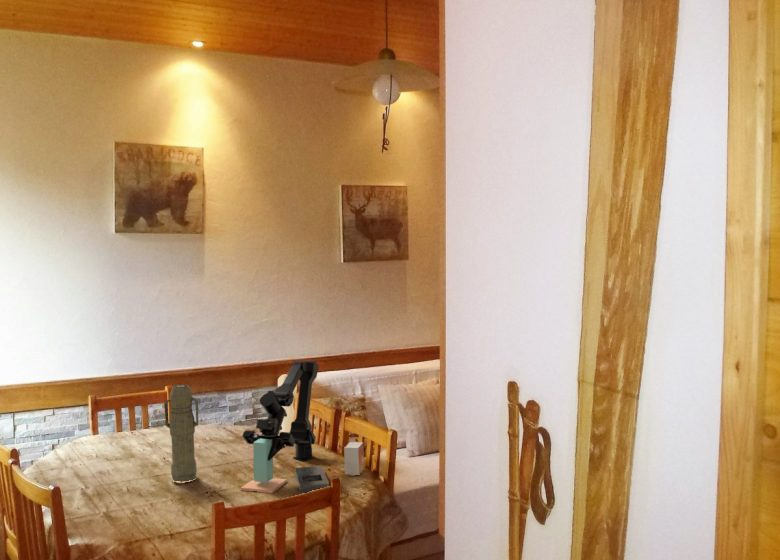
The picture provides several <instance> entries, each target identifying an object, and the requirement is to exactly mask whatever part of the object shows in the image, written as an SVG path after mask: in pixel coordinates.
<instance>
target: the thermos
mask: <svg viewBox="0 0 780 560" xmlns="http://www.w3.org/2000/svg"><path fill="white" fill-rule="evenodd" d="M169 395H170V397H169V398H168V399H167V400H166V401H165V402H164V405H163V407H164V418H165V427H167V428H168V429H169V435H170V437H171V457H172V463H171V466H170V467H171V468H170V472H171V480H172V479H173V480H174V481H181V482H182V481H189V480H193V479H195V478H196V479H197V471H198V470H197V460H196V459H195V440H194V439H195V431H196V430H195V429H196V427H197V426H199V404H198V403H199V400H198V399H197V398H196V397H193V394H192V390H191V388H190V386H189V385H188V384H177V385H174V386H172V388H171V391H170V394H169ZM193 401H194V403H195V415H194V413H193V409H192V407H193ZM169 403H170V409H171V410H170V417H169ZM195 420H196V421H195Z"/></svg>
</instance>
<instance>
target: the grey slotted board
mask: <svg viewBox="0 0 780 560" xmlns="http://www.w3.org/2000/svg"><path fill="white" fill-rule="evenodd" d="M294 474H295V475H294V476H295V479H296V482H297V486H298V490H299V493H300V494H304V493H305V492H309V491H312V490H316V489H320V488H324V487H327V486H329V487H330V482H329V479H328V478H327V476H326V475H327V474H326V473H325V470H324V468H323V466H322V465H312V466H303V467H295V468H294ZM309 493H310V492H309ZM305 494H306V493H305Z"/></svg>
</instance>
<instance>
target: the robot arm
mask: <svg viewBox="0 0 780 560" xmlns="http://www.w3.org/2000/svg"><path fill="white" fill-rule="evenodd" d="M319 367H320V366H319V364H318V363H317V361H316V360H300V361H299V360H295V361H292V363H291V368H290V369H289V370H288V373H287V375H286V376H285V379H284V380H283V382H282V384H281V385H279V386H277V387H276V389H275V390H268V391H267V393H264V394H263V395H262V396H261V397H260V398H259V404H260V405H261V406H262V408H263V410H264V411H265V413H266V414H268V416H267V418H263V419H261V418H258V419H257V422H256V425H255V429H259V430H258V431H259V433H257V432H256V430H255V429H254V430H251V429H245V430H244V431H243V433H242V435H241V437H242V438H243V440H245V442H246V443H247V444H248V445H253V442H255V441H257V440H258V439H260V438H261V439H271V440H273V441H272V447H271V449H270V452H269V455H268V461H270V460H271V459H272V458H273V459H274V457H275V455H277V454H278V453H279V452H280V451H281V450H282V449H285V448H286V447H289V448H290V447H292V448H293V447H294V446H295V456H292V459H293V460H294V459H295V460H297V461H300V462H301V461H302V462H305V461H308V460H312V459H315V458H316V456H315V455H313V447H312V445H314V444H316V438H317V437H316V435H315V433H314V432H313V429H312V428H313V426H312V423H311V421H310V420H309V419H310V408H311V398H312V397H311V396H312V387H313V382H315V380H316V379H317V376H318V372H319ZM298 383H299V391H298V398H297V399H298V400H297V410H296V411H297V412H296V418H295V420H294V421H291V424H290V429H289V432H286V431H285V432H284V431H282V430H283V427H282V425H283V421H284V419H285V417H286V418H287V417H288V413H287V411H286V409H285V408H284V407H287V408H288V407H291V406H292V404H293V402H294V398H295V394H294V390H295V389H296V387H297V385H298ZM280 431H282V432H280ZM260 433H261V434H260Z"/></svg>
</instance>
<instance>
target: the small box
mask: <svg viewBox="0 0 780 560" xmlns="http://www.w3.org/2000/svg"><path fill="white" fill-rule="evenodd" d="M343 453H344V454H343V455H344V456H343V458H344V461H343V462H344V475H345V474H350V475H349V476H355V475H359V476H360V475H361V474H362V473H363V472H364V470H365V463H364V458H365V456H364V442H363V441H360V442H358V441H349V442H348V443H347V444H346V446H344V447H343ZM363 469H364V470H363ZM360 473H361V474H360Z"/></svg>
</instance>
